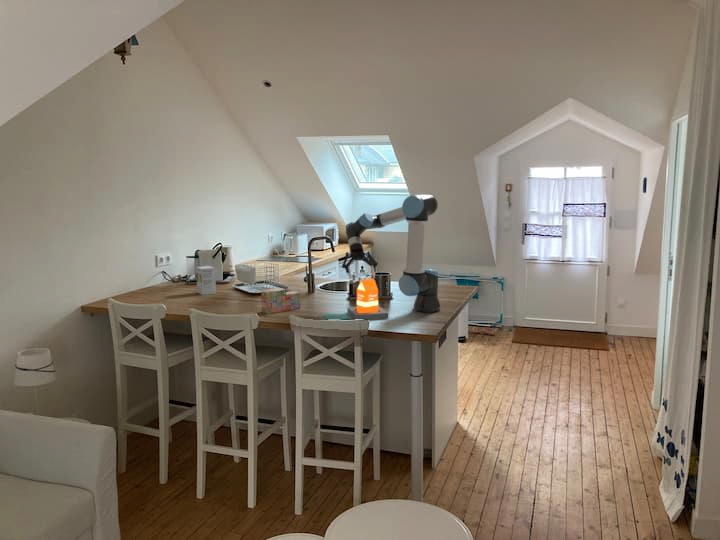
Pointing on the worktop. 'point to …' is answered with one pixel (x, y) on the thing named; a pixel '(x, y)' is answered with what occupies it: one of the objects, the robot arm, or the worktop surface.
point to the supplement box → (206, 280)
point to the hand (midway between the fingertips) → (362, 276)
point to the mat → (336, 316)
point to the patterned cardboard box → (279, 300)
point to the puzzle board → (367, 314)
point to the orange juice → (367, 296)
